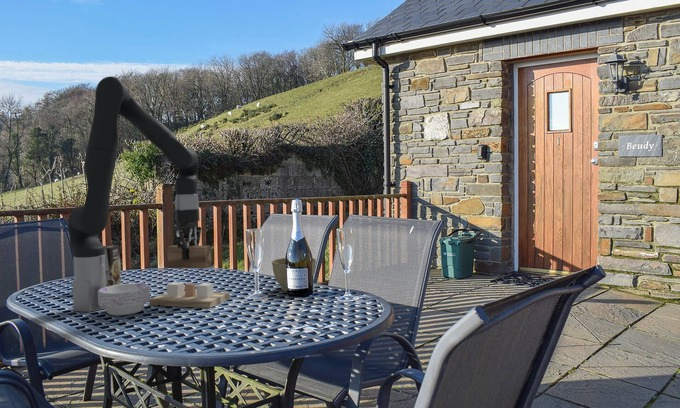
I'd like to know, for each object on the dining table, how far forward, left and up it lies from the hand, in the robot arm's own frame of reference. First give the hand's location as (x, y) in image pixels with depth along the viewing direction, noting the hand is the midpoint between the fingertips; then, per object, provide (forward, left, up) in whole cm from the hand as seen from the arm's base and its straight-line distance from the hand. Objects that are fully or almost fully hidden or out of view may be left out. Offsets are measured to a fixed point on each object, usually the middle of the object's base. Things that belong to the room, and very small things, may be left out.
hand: (189, 258), depth 186 cm
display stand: (0, 0, -15) cm, 15 cm away
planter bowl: (+25, -28, -15) cm, 40 cm away
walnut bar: (0, 0, -3) cm, 3 cm away
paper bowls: (-17, +13, -15) cm, 26 cm away
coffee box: (+14, +43, -15) cm, 47 cm away
